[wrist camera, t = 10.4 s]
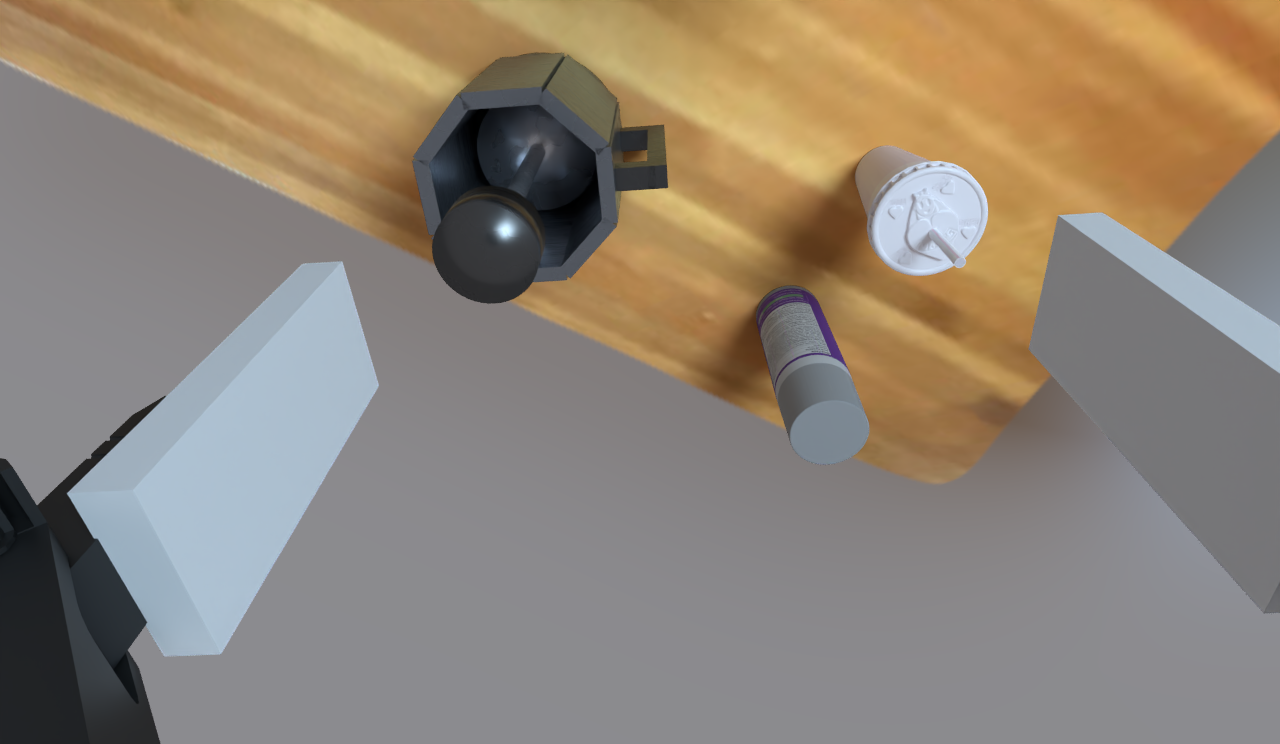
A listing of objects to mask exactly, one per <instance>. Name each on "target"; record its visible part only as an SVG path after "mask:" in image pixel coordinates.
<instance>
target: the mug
mask: <svg viewBox="0 0 1280 744" xmlns="http://www.w3.org/2000/svg"><path fill="white" fill-rule="evenodd" d="M526 105H540V106H541V107H543V108H544V109H545V110H546V111H547V112H548V113H550V114H551V115H552V116H553V117H554V118H555V119H557V120H558V121H559V122H560V123H561V124H563V125H564V126H565V127H566V128H567V129H568V130H570V131H571V132H572V133H573V134H574V135H575V136H577V137H578V138H579V139H580V140H581V141H582V142H584V143H585V144H586V145H587V146H588V147H589V148H591V149H592V150H593V151H594V152H595V154H596V167H595V171H594V174H593V176H592V179H591V181H590V182H589V184H588V186H587V187H586V189H585V190H584V191H583V192H582V193H581V194H580V195H579V196H578V197H577V198H576V199H574V200H573V201H571V202H570V203H568V204H566V205H564V206H561V207H558V208H555V209H549V210H537V211H538V213H539V214H540V216H541V218H542V221H543V224H544V227H545V233H546V244H545V249H544V252H543V255H542V258H541V261H540V264H539V267H538V270H537V273H536V276H535V278H534V280H533V282H544V281H560V280H567V277H569V278H571V277H572V276H573V275H574V274H575V273H576V271H577V270H578V269H579V268H580V267H581V266H582V265H583V264H584V262H585V261H586V260H587V259H588V258H589V257H590V256H591V255H592V253H593V252H594V251H595V250H596V249H597V248H598V247H599V246H600V244H601V243H602V242H603V241H604V240H605V239H606V238H607V237H608V235H609V234H610V233H611V232H612V231H613V230H614V229H615V228H616V227H617V223H618V217H619V208H620V199H621V191H629V190H644V189H659V188H668V181H667V163H666V148H665V133H664V125H653V126H639V127H625V128H622V125H621V119H620V108H619V102H617V98H616V97H615V96H614V95H613V94H612V93H611V92H609V91H608V89H607V88H606V87H605V85H604V84H603V83H602V81H601V80H600V79H599V78H598V77H597V76H596V75H595V74H594V73H592V72H591V71H590V70H589V69H587V68H586V67H585V66H583V65H581V64H579V63H578V62H576V61H575V60H574V59H573V58H571V57H570V56H569V55H568V54H567V56H566V57H565V56H564V53H555V54H551V53H529V54H523V55H520V56H515V57H502V58H499V59H498V60H496V61H495V62H494V63H492V64H491V65H490V66H489V67H488V68H487V69H486V70H484V71H483V72H482V73H481V74H480V75H479V76H478V77H476V78H475V79H474V80H473V81H472V82H471V83H470V84H469V85H467V86H466V87H465V88H464V89H463V90H462V91H461V92H459V93H458V94H457V95H456V97H455V98H454V99H453V101H452V102H451V104H450V105H449V106H448V108H447V109H446V111H445V112H444V114H443V115H442V116H441V118H440V119H439V121H438V122H437V123H436V125H435V126H434V128H433V129H432V131H431V132H430V133H429V135H428V136H427V138H426V139H425V140H424V142H423V143H422V145H421V146H420V148H419V149H418V150H417V152H416V153H415V155H414V156H413V157H414V158H415V159H414V160H413V161H412V162H413V167H414V171H415V176H416V180H417V184H418V189H419V193H420V198H421V202H422V206H423V211H424V215H425V220H426V224H427V229H428V233H429V235H434V234H435V231H436V229H437V227H438V225H439V224H440V222H441V221H442V219H443V218H444V217H445V215H446V214H447V212H448V211H449V210H450V208H451V207H452V205H453V204H454V203H455V201H456V200H457V199H458V198H459V197H460V196H462V195H463V194H464V193H466V192H467V191H469V190H472V189H474V188H477V187H481V186H492V185H491V184H490V183H489V181H488V180H487V178H486V177H485V175H484V173H483V171H482V168H481V165H480V162H479V158H478V152H477V139H478V132H479V129H480V125H481V123H482V121H483V119H484V117H485V115H486V114H487V112H488V111H489V109H490V108H499V107H512V106H526ZM637 150H647V161H640V162H626V163H624V156H623V151H637ZM433 238H434V236H433V237H432V238H431V239H433Z"/></svg>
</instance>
